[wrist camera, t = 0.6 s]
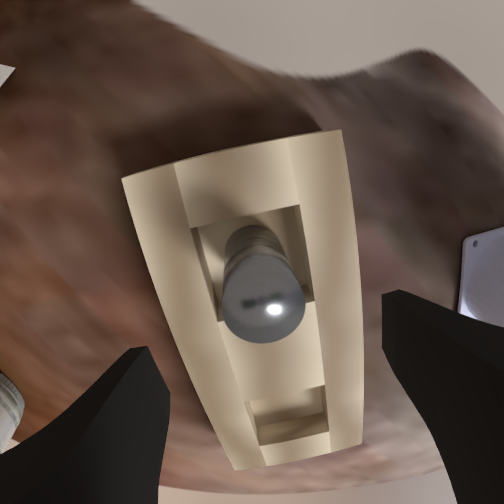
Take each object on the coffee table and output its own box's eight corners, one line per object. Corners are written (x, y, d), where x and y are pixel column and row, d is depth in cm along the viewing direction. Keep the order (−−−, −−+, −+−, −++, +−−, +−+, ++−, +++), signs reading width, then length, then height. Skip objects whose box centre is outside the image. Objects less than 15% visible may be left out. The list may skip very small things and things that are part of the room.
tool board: (323, 130, 16) (341, 129, 13) (351, 417, 24) (361, 443, 21) (139, 171, 16) (121, 178, 13) (234, 442, 24) (235, 470, 21)
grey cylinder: (275, 219, 17) (299, 262, 11) (286, 272, 18) (310, 333, 12) (218, 231, 17) (212, 280, 11) (231, 284, 18) (232, 350, 12)
